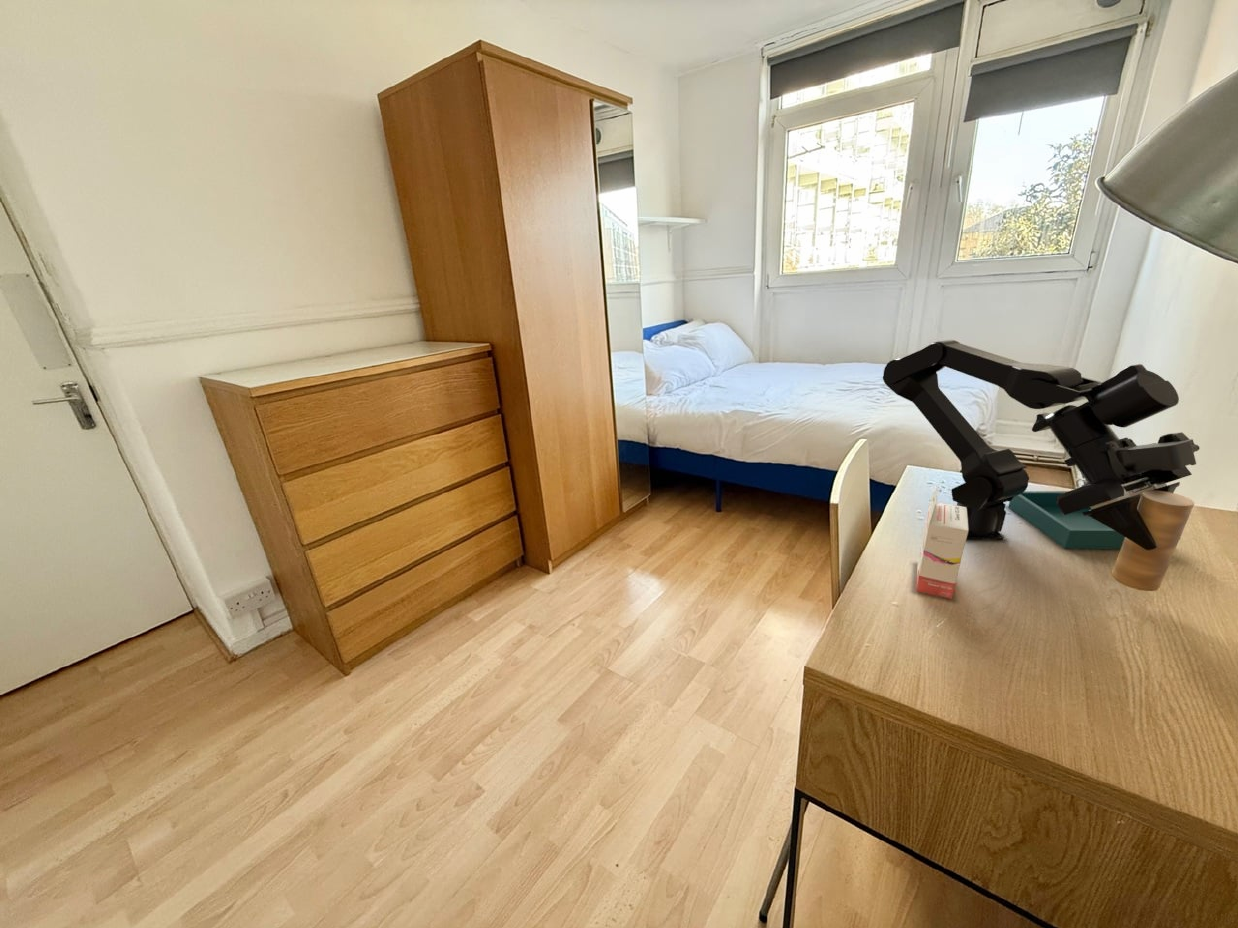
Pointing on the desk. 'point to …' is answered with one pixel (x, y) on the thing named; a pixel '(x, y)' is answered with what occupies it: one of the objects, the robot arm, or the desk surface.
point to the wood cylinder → (1166, 526)
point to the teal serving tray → (1064, 522)
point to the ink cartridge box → (942, 548)
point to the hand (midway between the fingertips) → (1164, 545)
